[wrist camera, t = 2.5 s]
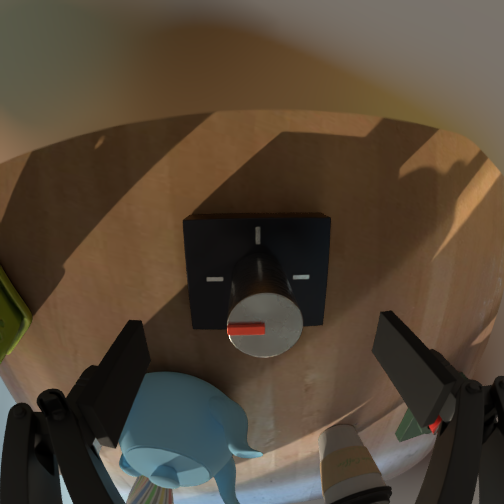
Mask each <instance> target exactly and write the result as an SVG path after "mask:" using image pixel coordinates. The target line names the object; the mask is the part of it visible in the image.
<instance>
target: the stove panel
mask: <svg viewBox="0 0 504 504" xmlns="http://www.w3.org/2000/svg"><path fill="white" fill-rule="evenodd" d="M330 227H331V218H330V217H328V216H326V215H324V214H323V213H230V214H198V215H189V216H188V217H186V218H185V219H184V220H183V233H184V247H185V259H186V271H187V281H188V291H189V300H190V309H191V318H192V326H193V329H227V318H228V308H229V298H230V288H231V279H232V272H233V269H234V267H235V265H236V264H237V263H238V261H239V260H240V259H242V258H243V257H245V256H247V255H249V254H252V253H265V254H269V255H271V256H273V257H274V258H276V259H277V260H278V261H279V262H280V264H281V265H282V267H283V269H284V272H285V274H286V277H287V279H288V282H289V284H290V286H291V289H292V291H293V294H294V296H295V299H296V301H297V304H298V306H299V309H300V311H301V314H302V317H303V327H304V326H318V325H323V318H324V309H325V299H326V288H327V276H328V263H329V247H330Z"/></svg>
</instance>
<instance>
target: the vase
mask: <svg viewBox="0 0 504 504" xmlns="http://www.w3.org/2000/svg"><path fill="white" fill-rule="evenodd" d="M126 504H174V503H173V493H172V489H169V488H163V487H160V486H158V485H156V484H154V483H152V482H151V481H150V480H149V478H147V477H145V476H143V475H141V476H138V477H137V479H136V481H135V483H134V485H133V487H132V489H131V491H130V493H129V496H128V499H127V502H126Z"/></svg>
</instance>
